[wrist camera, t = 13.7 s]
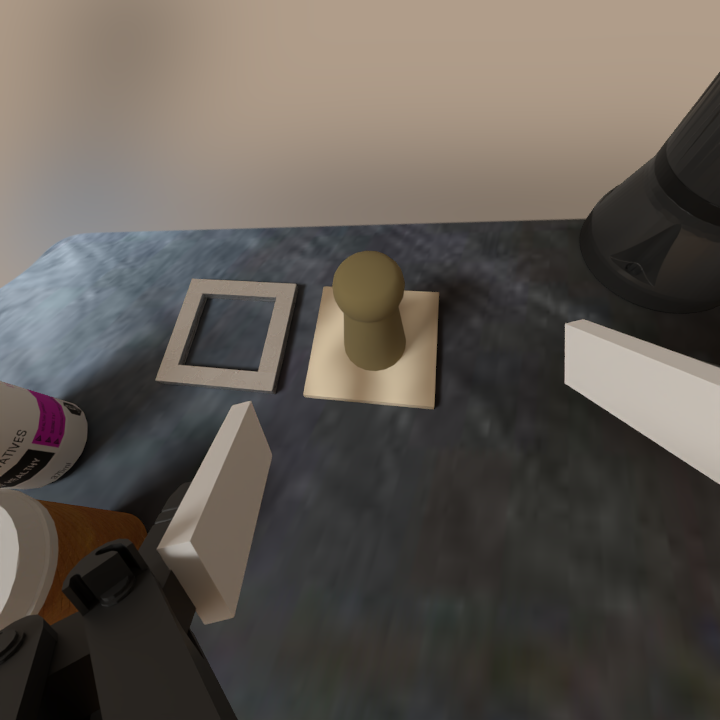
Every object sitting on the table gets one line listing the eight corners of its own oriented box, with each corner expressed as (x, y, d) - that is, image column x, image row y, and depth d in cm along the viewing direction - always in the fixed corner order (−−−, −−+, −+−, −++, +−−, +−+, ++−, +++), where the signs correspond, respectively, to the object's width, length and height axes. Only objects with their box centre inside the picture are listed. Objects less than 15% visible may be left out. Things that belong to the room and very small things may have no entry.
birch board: (438, 296, 35) (438, 292, 35) (433, 409, 31) (434, 407, 30) (325, 290, 37) (323, 286, 36) (305, 397, 32) (303, 394, 32)
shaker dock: (298, 289, 37) (296, 283, 36) (275, 394, 33) (271, 391, 32) (196, 283, 39) (192, 278, 38) (161, 383, 34) (155, 380, 33)
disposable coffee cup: (161, 614, 27) (-3, 694, 16) (45, 628, 27) (-196, 716, 16) (172, 485, 30) (47, 477, 19) (70, 499, 31) (-111, 498, 20)
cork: (419, 346, 33) (430, 276, 22) (368, 383, 32) (357, 327, 21) (380, 304, 35) (374, 223, 25) (332, 338, 34) (305, 268, 24)
